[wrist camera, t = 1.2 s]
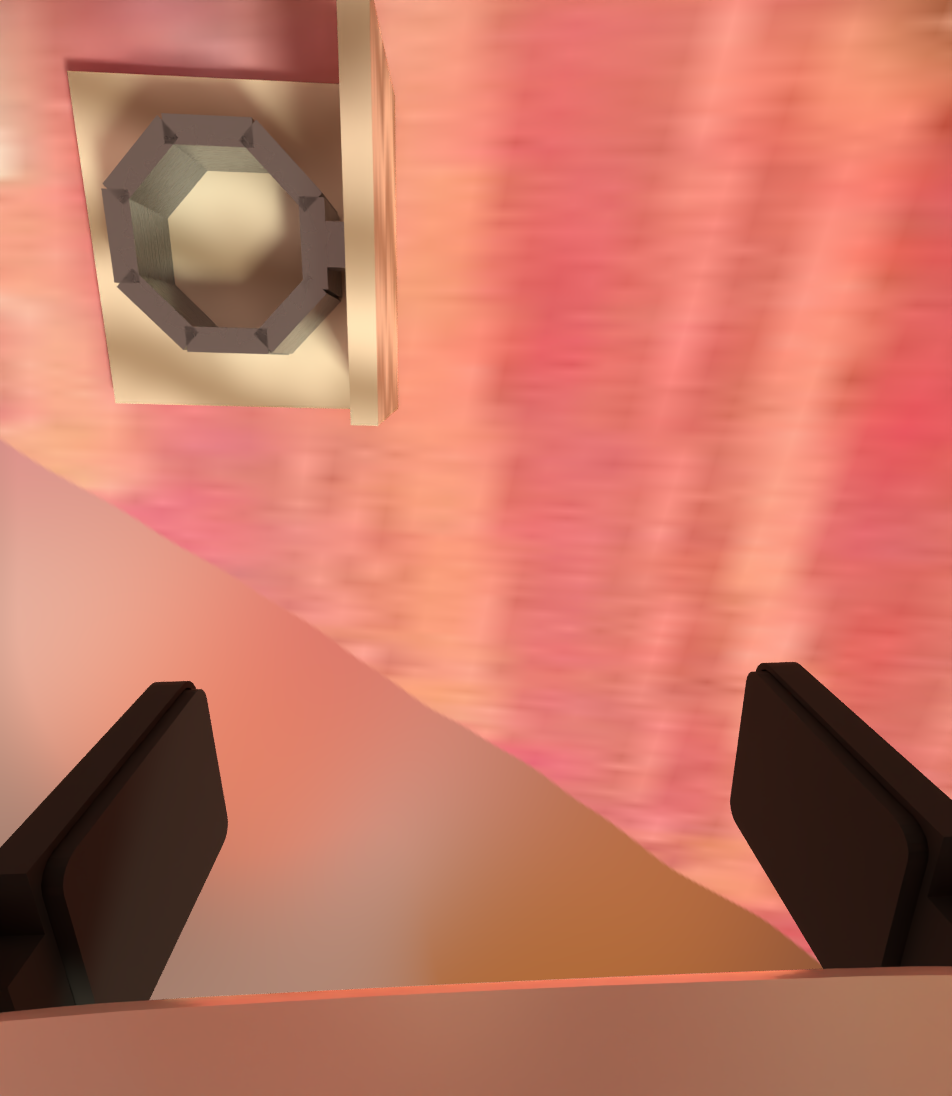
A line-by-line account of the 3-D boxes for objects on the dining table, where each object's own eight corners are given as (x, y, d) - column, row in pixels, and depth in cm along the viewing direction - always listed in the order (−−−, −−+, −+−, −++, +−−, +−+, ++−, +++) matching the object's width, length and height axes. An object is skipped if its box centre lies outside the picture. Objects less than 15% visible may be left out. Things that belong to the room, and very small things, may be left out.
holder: (81, 81, 31) (-90, -48, 21) (394, 96, 32) (369, -22, 22) (126, 401, 36) (3, 416, 26) (398, 408, 36) (378, 425, 27)
